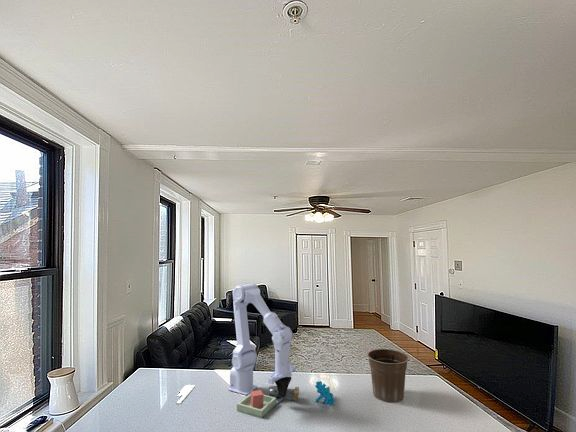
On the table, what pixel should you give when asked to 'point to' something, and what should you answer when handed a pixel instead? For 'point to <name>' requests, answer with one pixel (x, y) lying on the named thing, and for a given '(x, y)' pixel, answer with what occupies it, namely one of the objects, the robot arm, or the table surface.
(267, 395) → the crank base
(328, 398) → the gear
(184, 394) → the butcher knife
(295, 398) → the crank
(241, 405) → the tray
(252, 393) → the block
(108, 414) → the table surface
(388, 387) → the plant pot
